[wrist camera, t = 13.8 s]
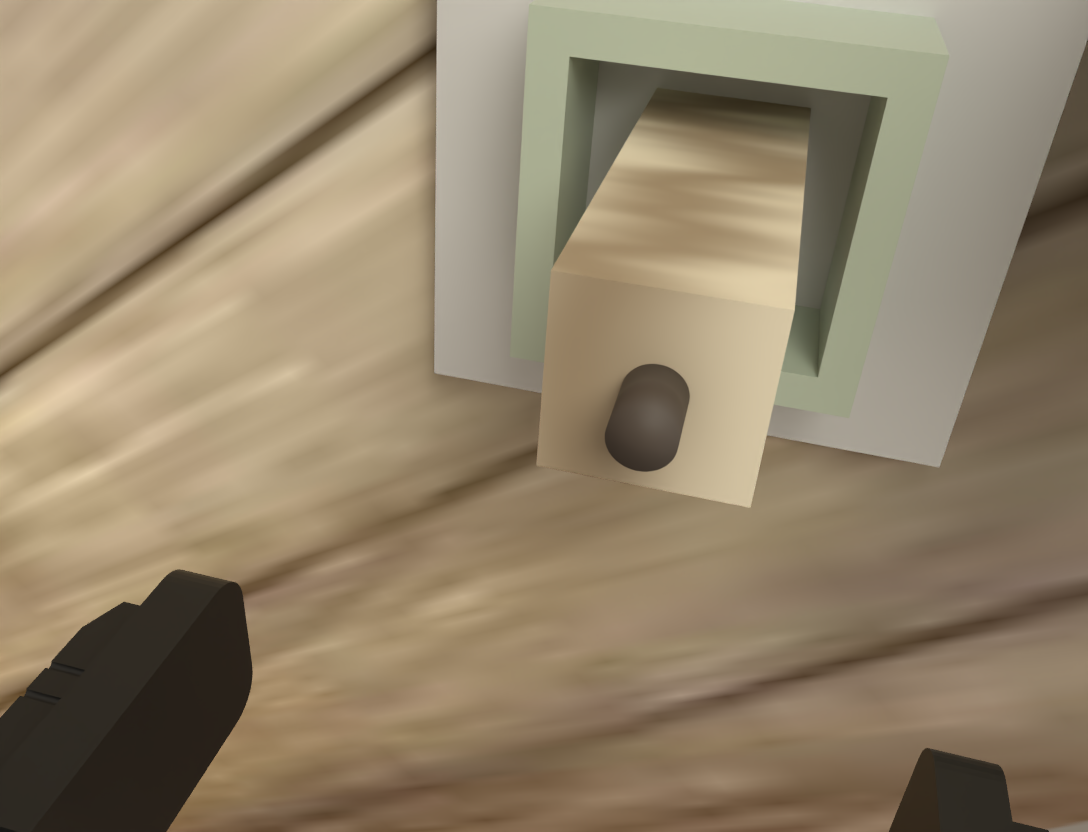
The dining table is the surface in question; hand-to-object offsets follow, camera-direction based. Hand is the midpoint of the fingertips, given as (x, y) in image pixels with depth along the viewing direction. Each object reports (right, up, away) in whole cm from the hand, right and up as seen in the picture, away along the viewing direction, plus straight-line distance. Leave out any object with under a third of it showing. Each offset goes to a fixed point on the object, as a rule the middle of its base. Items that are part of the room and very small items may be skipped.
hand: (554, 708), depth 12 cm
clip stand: (+5, +11, +17) cm, 20 cm away
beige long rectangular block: (+5, +10, +16) cm, 19 cm away
